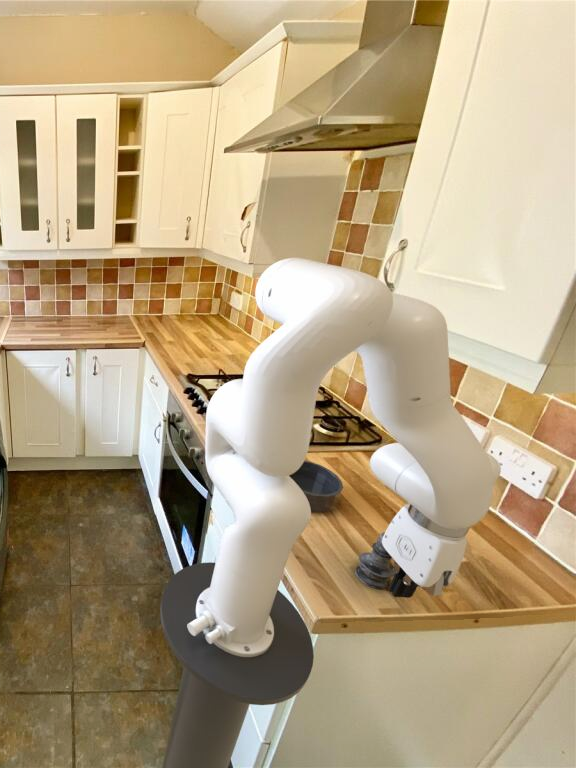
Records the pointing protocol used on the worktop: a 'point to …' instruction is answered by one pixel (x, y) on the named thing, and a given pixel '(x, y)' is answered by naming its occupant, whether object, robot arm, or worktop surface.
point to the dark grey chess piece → (375, 566)
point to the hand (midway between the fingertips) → (399, 593)
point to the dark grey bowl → (318, 486)
